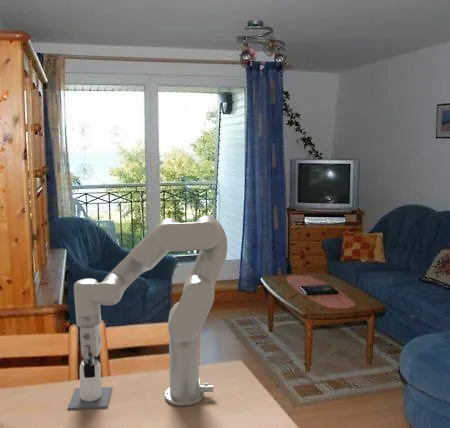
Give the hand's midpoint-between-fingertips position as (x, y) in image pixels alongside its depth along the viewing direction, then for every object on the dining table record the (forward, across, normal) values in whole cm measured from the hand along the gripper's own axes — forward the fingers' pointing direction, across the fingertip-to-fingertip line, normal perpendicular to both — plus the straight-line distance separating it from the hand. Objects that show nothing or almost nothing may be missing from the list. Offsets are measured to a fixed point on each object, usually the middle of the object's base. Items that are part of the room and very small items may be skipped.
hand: (92, 369), depth 155 cm
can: (+9, 0, +1) cm, 9 cm away
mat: (+10, 0, +1) cm, 10 cm away
